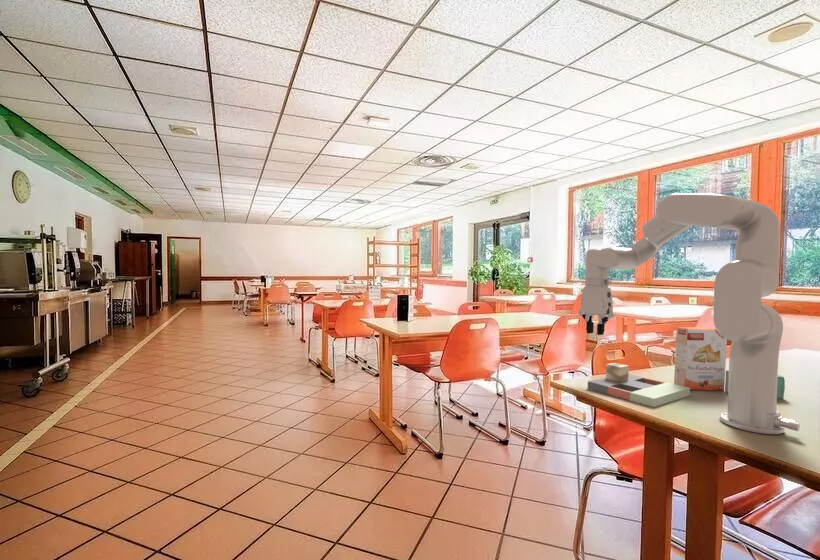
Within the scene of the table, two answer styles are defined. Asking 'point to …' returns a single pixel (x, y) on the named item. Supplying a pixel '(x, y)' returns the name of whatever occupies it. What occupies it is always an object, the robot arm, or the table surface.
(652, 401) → the platform
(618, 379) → the block
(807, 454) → the table surface
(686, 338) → the cracker box
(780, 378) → the box
